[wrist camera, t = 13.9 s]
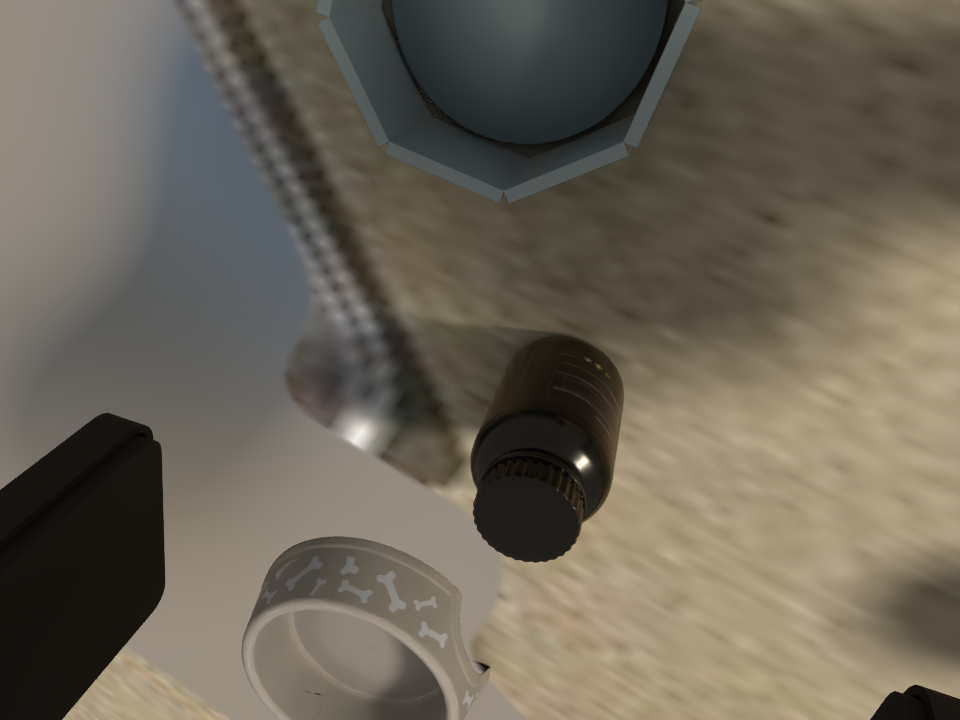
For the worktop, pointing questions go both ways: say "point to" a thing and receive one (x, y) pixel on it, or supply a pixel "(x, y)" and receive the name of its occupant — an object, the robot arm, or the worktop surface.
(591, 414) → the supplement bottle
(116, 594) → the robot arm
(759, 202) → the worktop surface
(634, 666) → the worktop surface
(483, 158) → the bowl
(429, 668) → the dog bowl
